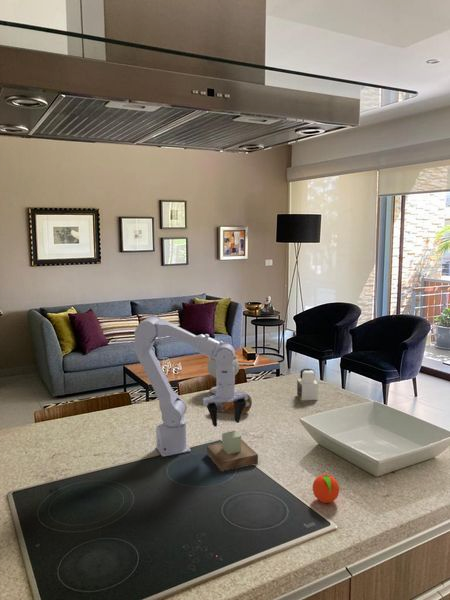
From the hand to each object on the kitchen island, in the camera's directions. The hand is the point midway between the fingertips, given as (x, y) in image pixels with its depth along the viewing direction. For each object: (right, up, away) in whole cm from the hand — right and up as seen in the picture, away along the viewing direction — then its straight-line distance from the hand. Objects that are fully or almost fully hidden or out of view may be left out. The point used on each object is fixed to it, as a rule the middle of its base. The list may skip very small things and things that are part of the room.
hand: (225, 423), depth 159 cm
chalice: (-1, -1, +59) cm, 59 cm away
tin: (+3, -4, +35) cm, 35 cm away
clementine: (+26, -14, -28) cm, 41 cm away
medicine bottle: (+34, -2, +50) cm, 61 cm away
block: (+2, -7, -5) cm, 9 cm away
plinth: (+2, -10, -4) cm, 11 cm away
